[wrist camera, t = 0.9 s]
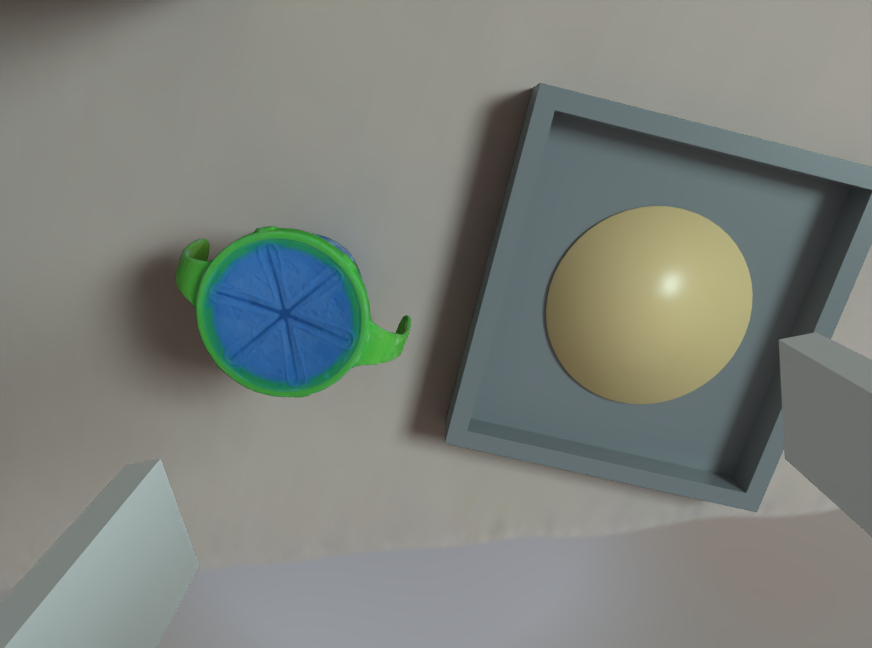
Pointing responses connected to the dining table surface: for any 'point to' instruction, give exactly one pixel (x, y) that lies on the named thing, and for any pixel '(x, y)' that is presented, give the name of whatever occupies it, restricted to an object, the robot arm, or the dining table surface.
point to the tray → (653, 296)
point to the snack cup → (284, 311)
